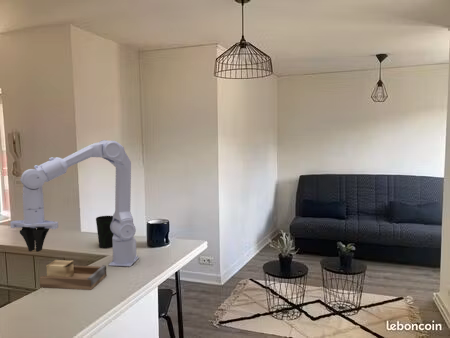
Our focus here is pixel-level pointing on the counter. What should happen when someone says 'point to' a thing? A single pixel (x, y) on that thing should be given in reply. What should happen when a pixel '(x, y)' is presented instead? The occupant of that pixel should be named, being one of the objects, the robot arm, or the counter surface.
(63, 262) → the box
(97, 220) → the cup
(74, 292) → the counter surface
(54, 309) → the counter surface
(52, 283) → the bay
